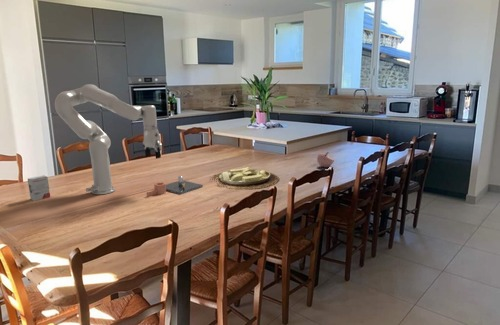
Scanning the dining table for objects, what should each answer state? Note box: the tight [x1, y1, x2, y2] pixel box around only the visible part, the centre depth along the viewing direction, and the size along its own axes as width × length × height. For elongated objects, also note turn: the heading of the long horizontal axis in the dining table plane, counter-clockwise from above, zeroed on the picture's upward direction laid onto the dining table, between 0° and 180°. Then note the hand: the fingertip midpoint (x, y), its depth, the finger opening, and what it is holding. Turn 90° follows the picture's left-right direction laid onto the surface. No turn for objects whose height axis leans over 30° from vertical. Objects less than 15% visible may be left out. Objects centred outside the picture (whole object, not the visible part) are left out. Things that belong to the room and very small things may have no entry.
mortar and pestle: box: [316, 151, 335, 168], centre depth 266 cm, size 12×12×12 cm
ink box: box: [27, 174, 51, 202], centre depth 199 cm, size 9×5×12 cm, turn 141°
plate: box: [209, 166, 280, 191], centre depth 236 cm, size 45×45×7 cm
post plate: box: [166, 175, 204, 195], centre depth 217 cm, size 18×18×7 cm
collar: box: [146, 182, 167, 197], centre depth 207 cm, size 12×6×5 cm, turn 144°
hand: (153, 157), depth 213 cm, fingers open, 9 cm apart
